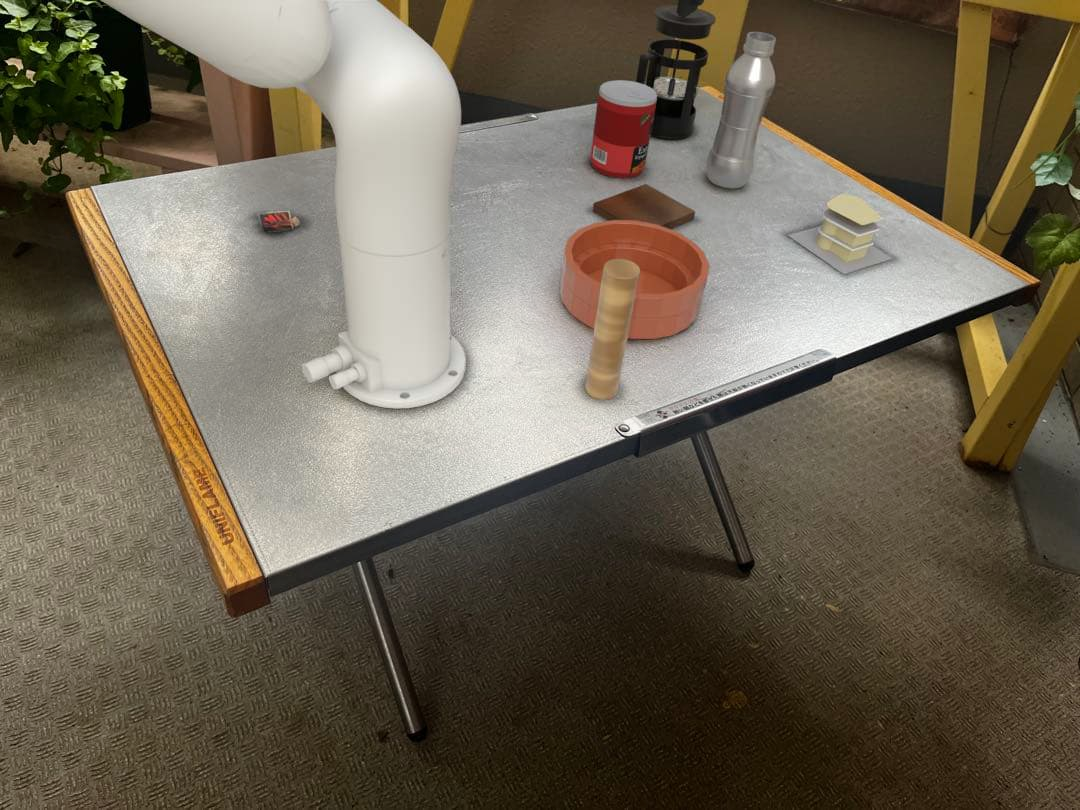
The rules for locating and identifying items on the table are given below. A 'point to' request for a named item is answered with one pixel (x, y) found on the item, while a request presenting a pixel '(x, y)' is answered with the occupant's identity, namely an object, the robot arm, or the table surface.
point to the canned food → (622, 128)
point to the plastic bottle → (742, 112)
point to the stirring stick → (611, 327)
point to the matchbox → (277, 221)
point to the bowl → (664, 281)
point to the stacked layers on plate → (845, 235)
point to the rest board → (644, 207)
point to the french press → (672, 91)
